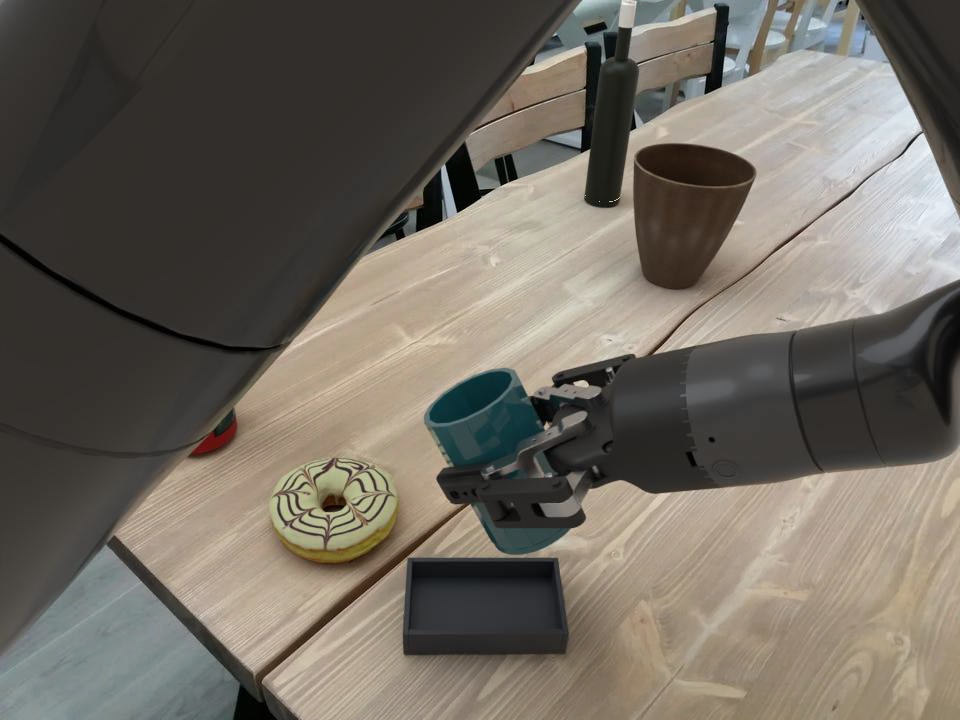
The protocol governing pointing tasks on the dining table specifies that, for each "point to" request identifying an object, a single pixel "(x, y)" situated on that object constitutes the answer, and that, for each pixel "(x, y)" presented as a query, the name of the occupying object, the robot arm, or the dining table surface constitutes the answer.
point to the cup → (490, 442)
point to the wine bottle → (613, 117)
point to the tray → (484, 606)
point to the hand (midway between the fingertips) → (470, 451)
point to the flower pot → (685, 208)
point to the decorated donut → (334, 532)
